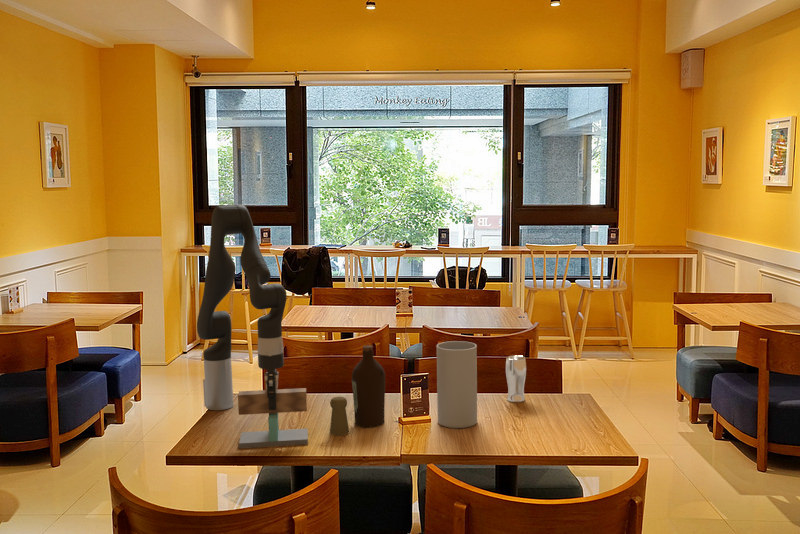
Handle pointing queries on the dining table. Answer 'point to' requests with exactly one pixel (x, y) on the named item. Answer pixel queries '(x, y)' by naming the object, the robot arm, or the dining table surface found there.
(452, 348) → the cylinder vase
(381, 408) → the olive oil
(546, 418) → the dining table surface
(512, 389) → the beer glass
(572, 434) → the dining table surface
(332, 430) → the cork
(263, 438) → the balance stand
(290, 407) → the walnut bar
